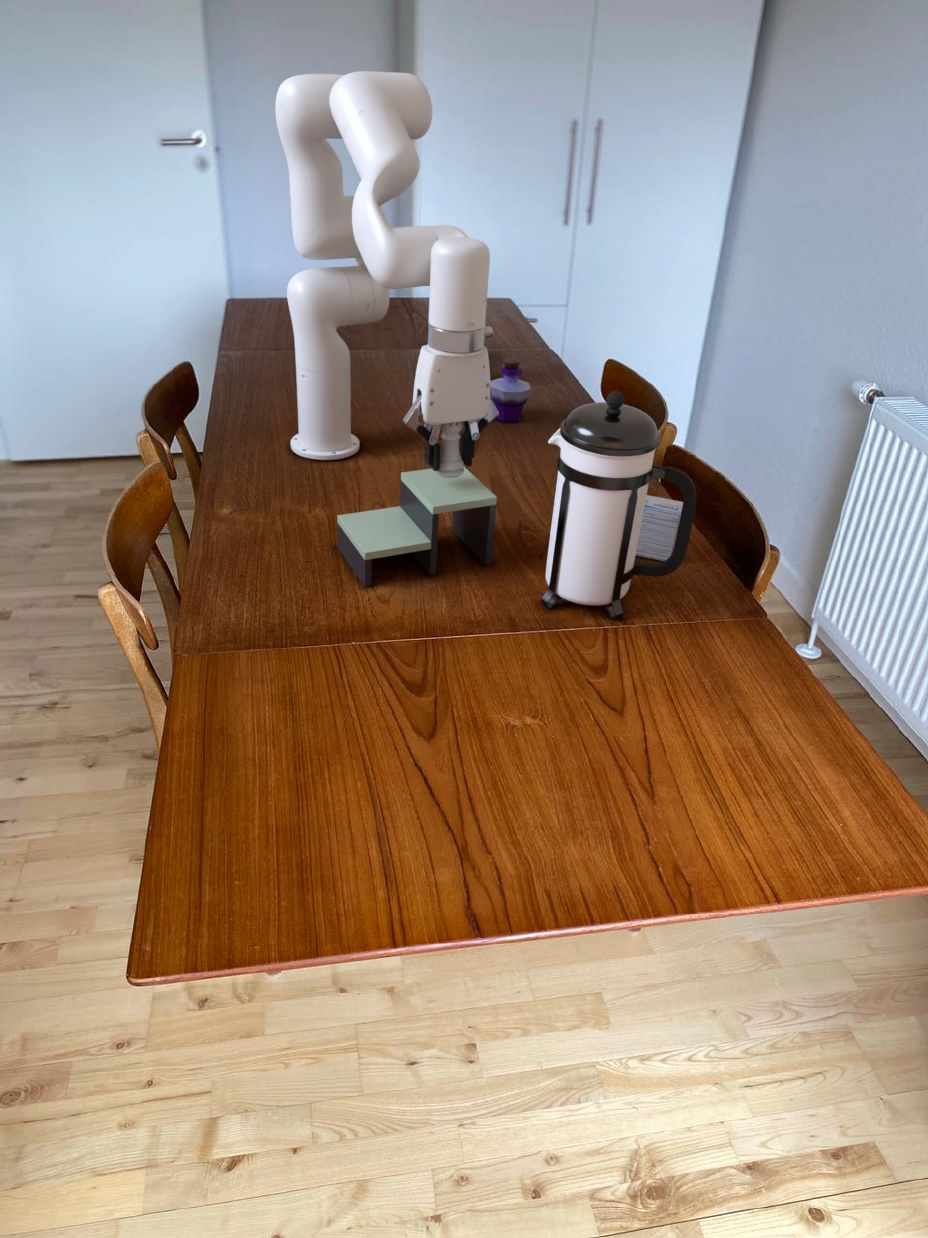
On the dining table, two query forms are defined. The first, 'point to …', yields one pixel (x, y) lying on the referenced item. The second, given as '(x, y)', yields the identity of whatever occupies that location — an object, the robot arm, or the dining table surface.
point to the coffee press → (607, 504)
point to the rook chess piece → (450, 451)
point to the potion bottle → (509, 392)
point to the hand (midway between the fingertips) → (449, 463)
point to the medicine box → (658, 528)
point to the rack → (420, 522)
